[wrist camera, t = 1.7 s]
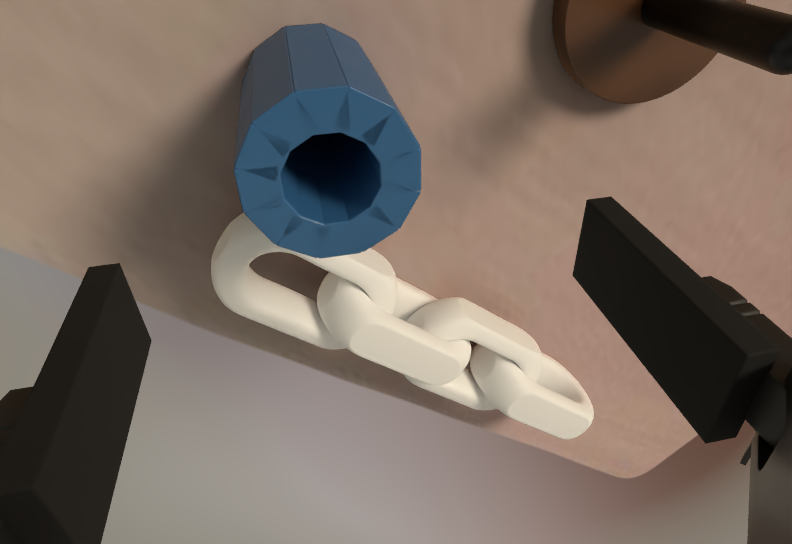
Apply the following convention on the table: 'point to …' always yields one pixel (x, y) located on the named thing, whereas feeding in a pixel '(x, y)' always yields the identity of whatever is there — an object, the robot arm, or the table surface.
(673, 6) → the stand post
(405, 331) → the chain
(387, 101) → the towel roll
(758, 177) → the table surface
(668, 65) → the stand base
